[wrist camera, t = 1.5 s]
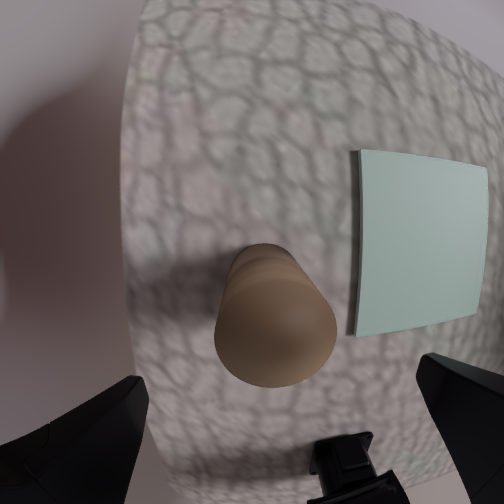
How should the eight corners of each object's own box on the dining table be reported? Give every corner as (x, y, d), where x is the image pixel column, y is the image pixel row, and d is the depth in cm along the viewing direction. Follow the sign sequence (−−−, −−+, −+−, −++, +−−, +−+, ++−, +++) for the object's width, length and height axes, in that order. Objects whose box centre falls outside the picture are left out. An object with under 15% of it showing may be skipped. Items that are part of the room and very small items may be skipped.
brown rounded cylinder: (299, 309, 20) (331, 382, 11) (231, 312, 20) (219, 389, 11) (299, 241, 19) (340, 277, 10) (226, 244, 19) (208, 282, 10)
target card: (472, 311, 21) (476, 313, 20) (353, 333, 21) (355, 337, 20) (482, 168, 18) (486, 168, 17) (357, 150, 18) (360, 149, 17)
